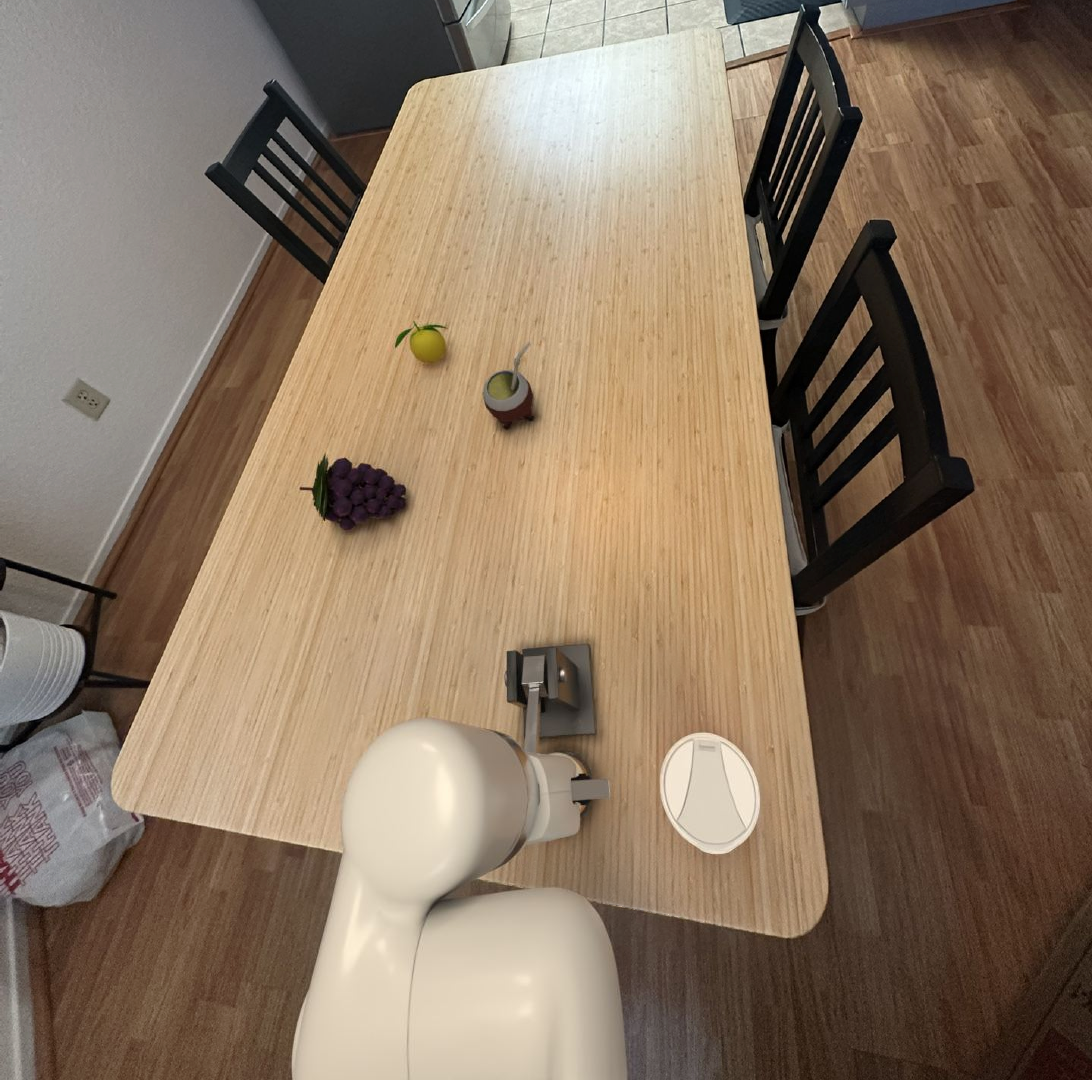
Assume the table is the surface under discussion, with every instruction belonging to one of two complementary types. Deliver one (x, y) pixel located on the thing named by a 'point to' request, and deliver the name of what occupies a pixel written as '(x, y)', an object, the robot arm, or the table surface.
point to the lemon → (425, 342)
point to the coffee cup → (709, 792)
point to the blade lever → (534, 697)
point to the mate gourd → (509, 394)
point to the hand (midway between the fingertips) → (535, 790)
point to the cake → (577, 772)
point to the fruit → (354, 493)
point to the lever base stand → (558, 690)
